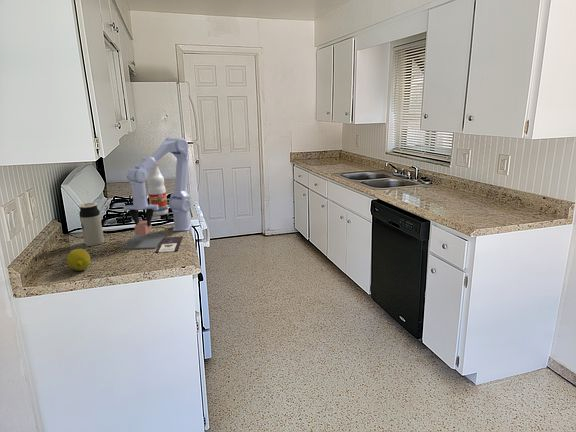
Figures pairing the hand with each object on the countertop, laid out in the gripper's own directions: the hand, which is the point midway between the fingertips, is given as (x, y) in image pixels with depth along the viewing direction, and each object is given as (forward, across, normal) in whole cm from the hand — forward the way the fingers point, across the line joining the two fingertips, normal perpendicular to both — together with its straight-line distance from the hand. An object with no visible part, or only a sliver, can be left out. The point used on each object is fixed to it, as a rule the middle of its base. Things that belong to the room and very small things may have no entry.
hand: (143, 225), depth 176 cm
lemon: (+8, -15, -29) cm, 34 cm away
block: (+3, 0, 0) cm, 3 cm away
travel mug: (+8, -23, 0) cm, 24 cm away
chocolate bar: (+8, +12, -5) cm, 15 cm away
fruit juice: (+8, -8, +47) cm, 48 cm away
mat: (+8, 0, 0) cm, 8 cm away
